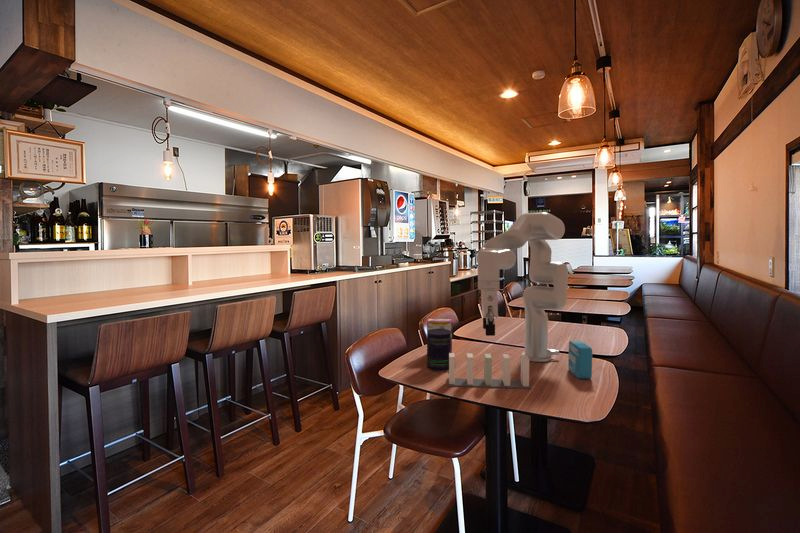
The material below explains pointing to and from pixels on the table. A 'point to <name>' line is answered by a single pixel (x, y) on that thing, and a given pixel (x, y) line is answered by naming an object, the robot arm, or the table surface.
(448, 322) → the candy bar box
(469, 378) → the domino
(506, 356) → the domino
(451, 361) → the domino
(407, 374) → the table surface
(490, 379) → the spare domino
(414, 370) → the table surface
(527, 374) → the domino
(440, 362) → the storage jar
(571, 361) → the teal box
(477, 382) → the mat
